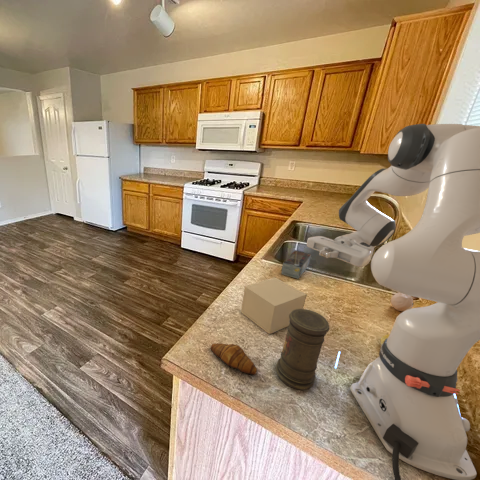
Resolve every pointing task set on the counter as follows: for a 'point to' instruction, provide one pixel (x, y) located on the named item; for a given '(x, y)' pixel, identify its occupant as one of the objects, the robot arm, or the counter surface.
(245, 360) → the croissant
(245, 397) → the counter surface
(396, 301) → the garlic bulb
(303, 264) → the translucent blue-gray box
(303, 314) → the container
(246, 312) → the beige rectangular block
